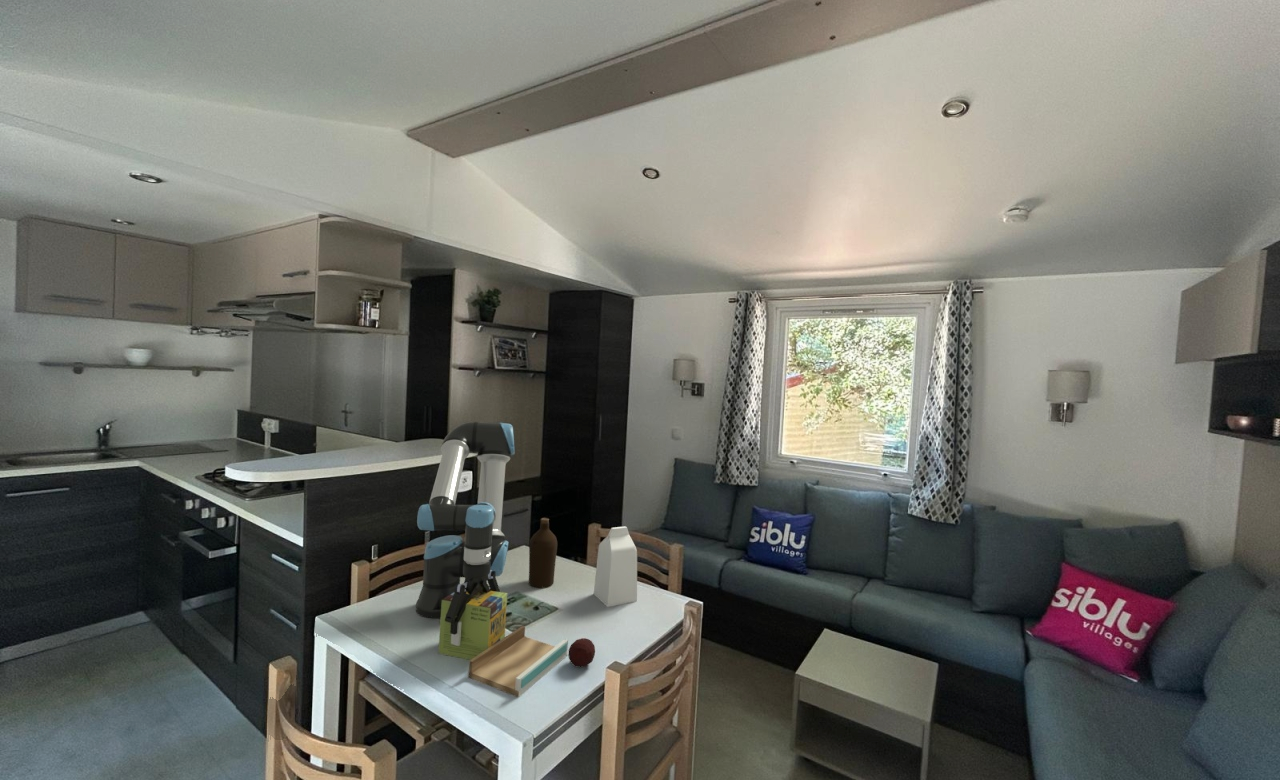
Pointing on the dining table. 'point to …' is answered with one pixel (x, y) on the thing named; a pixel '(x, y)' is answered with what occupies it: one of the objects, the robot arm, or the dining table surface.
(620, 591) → the milk
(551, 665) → the rail
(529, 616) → the dining table surface
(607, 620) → the dining table surface
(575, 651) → the dark red ball
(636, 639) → the dining table surface
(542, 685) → the dining table surface
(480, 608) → the protein box
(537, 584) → the olive oil
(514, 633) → the back lip
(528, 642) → the shelf board
